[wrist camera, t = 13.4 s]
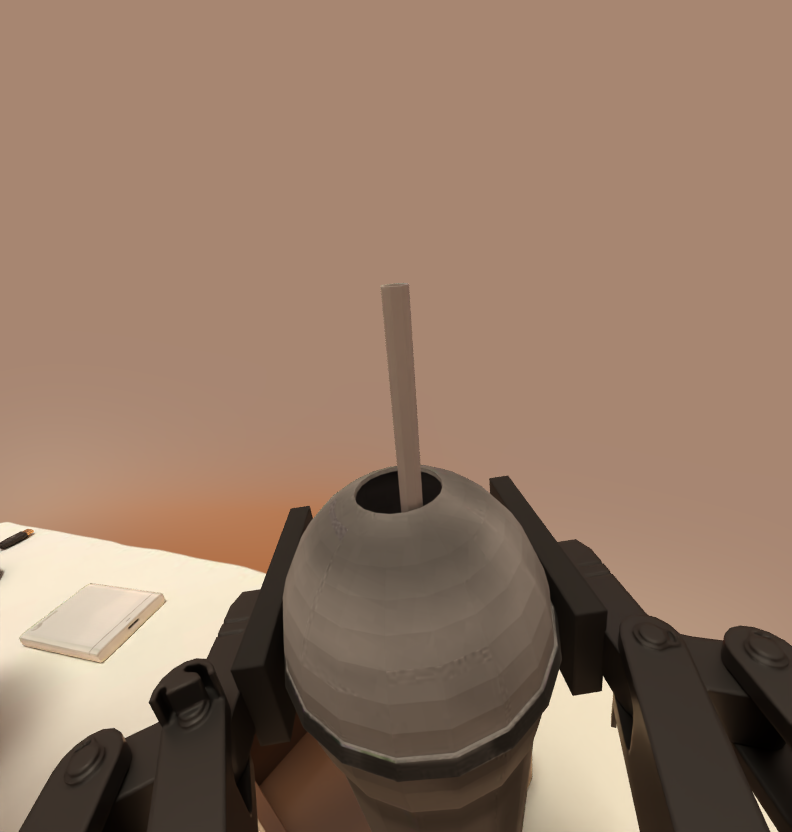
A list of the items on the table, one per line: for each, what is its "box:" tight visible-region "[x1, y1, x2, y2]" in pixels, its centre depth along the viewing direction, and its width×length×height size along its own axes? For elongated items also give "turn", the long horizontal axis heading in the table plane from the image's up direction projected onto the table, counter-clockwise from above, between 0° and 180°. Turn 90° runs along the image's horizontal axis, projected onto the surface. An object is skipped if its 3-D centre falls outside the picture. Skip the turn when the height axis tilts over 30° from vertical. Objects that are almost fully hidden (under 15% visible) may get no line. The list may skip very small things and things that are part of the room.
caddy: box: [250, 712, 532, 832], centre depth 25 cm, size 16×14×6 cm
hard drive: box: [19, 583, 165, 662], centre depth 43 cm, size 2×8×12 cm
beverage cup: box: [283, 283, 562, 832], centre depth 11 cm, size 7×7×20 cm
